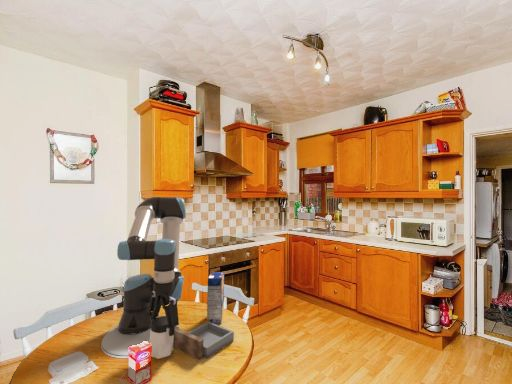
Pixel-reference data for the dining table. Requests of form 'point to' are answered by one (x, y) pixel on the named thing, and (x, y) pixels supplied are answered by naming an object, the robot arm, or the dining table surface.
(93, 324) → the dining table surface
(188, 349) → the door board
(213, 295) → the beverage box
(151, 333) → the jar
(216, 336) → the tray
